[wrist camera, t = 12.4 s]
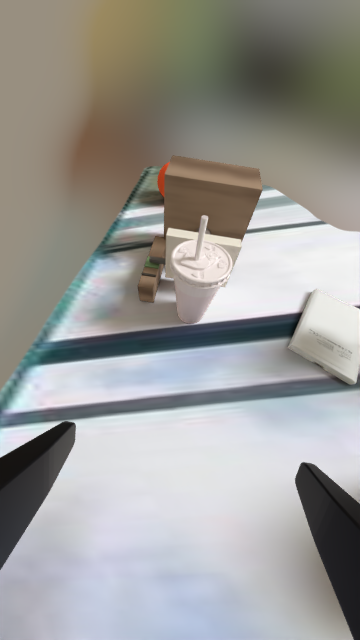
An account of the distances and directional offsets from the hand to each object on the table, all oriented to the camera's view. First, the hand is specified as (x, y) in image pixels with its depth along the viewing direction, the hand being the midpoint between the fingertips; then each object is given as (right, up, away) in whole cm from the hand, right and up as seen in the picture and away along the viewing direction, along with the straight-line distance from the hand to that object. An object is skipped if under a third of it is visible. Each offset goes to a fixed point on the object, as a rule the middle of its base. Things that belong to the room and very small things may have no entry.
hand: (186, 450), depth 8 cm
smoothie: (+1, +6, +20) cm, 21 cm away
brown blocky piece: (+2, +14, +25) cm, 28 cm away
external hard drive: (+21, +3, +21) cm, 30 cm away
